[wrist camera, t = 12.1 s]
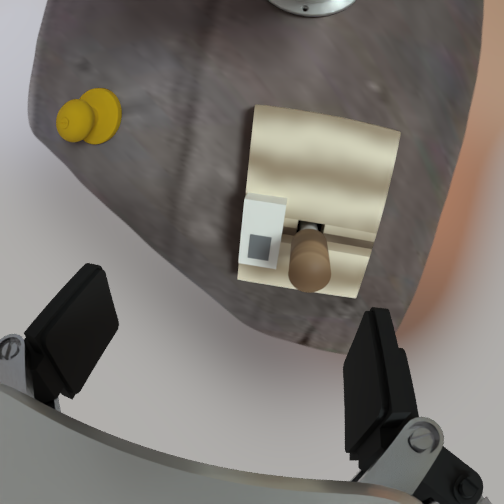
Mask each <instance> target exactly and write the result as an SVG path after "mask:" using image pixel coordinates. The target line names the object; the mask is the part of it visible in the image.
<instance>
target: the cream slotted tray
mask: <svg viewBox="0 0 504 504" xmlns="http://www.w3.org/2000/svg"><path fill="white" fill-rule="evenodd" d="M400 134H401V132H399V131H396V130H393V129H390V128H386V127H382V126H378V125H374V124H370V123H365V122H361V121H357V120H352V119H347V118H343V117H338V116H333V115H327V114H322V113H316V112H310V111H304V110H298V109H291V108H284V107H276V106H268V105H259V104H258V105H255V109H254V118H253V128H252V137H251V147H250V156H249V166H248V176H247V186H246V195H247V193H248V192H250V193H257V194H263V195H270V196H277V197H283V198H287V204H286V211H285V217H284V223H283V230H282V236H281V242H280V248H279V254H278V260H277V266H276V269H271V268H265V267H259V266H253V265H247V264H241V263H239V268H238V280H244V281H249V282H255V283H261V284H267V285H273V286H279V287H285V288H292V289H296V288H295V287H294V286H293V285H292V284H291V282H290V280H289V277H288V271H289V261H290V250H291V241H292V239H293V237H294V235H295V234H296V231H297V225H298V220H302V221H308V222H314V223H320V224H322V226H321V231H320V232H321V233H322V234H323V235H324V236H325V238H326V240H327V245H328V252H329V259H330V267H331V279H330V281H329V283H328V284H327V285H326V286H325V287H324V288H323V289H321V290H319V291H316V292H317V293H323V294H330V295H336V296H343V297H350V298H356V296H357V293H358V291H359V288H360V285H361V282H362V279H363V276H364V273H365V270H366V267H367V264H368V260H369V257H370V254H371V251H372V248H373V244H374V241H375V237H376V234H377V230H378V227H379V223H380V220H381V216H382V212H383V209H384V205H385V201H386V197H387V193H388V189H389V185H390V181H391V177H392V172H393V168H394V163H395V159H396V154H397V149H398V144H399V139H400ZM246 195H245V197H246Z"/></svg>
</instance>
